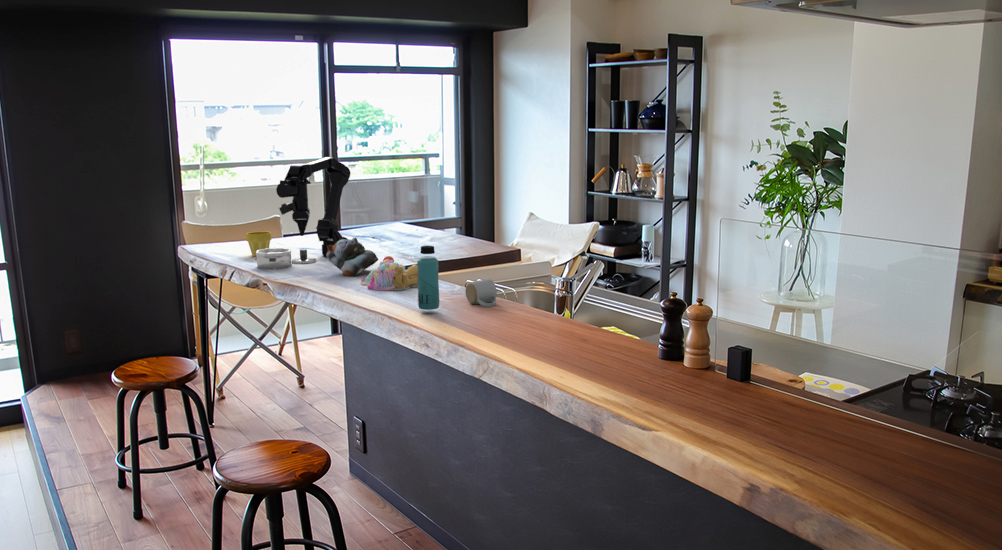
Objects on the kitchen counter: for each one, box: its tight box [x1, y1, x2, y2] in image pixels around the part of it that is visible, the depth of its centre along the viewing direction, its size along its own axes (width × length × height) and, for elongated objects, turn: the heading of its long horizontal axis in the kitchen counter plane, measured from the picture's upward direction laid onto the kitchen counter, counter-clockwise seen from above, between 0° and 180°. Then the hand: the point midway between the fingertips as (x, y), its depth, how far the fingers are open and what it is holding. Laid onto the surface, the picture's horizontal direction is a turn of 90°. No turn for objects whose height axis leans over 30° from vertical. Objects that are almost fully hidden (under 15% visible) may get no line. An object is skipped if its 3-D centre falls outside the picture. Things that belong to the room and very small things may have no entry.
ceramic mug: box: [465, 278, 498, 308], centre depth 232 cm, size 10×8×7 cm
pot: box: [255, 247, 293, 270], centre depth 296 cm, size 13×19×6 cm
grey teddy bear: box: [326, 236, 379, 278], centre depth 281 cm, size 17×14×16 cm
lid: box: [291, 248, 317, 265], centre depth 306 cm, size 10×10×5 cm
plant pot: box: [245, 230, 272, 257], centre depth 321 cm, size 10×10×10 cm
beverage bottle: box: [416, 245, 440, 311], centre depth 220 cm, size 6×7×20 cm
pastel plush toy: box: [359, 255, 418, 292], centre depth 262 cm, size 25×24×9 cm
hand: (302, 234), depth 304 cm, fingers open, 9 cm apart
